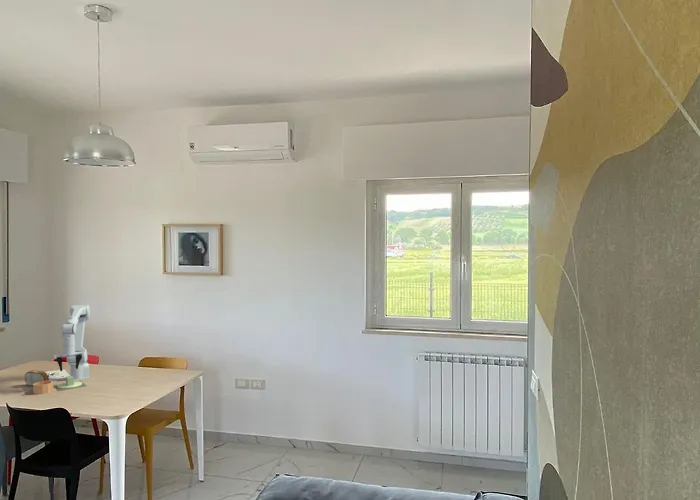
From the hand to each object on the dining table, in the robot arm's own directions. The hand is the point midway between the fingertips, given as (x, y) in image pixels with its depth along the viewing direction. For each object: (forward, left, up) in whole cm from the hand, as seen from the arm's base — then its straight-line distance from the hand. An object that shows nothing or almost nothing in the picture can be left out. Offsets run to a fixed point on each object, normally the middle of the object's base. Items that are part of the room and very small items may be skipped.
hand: (69, 369), depth 268 cm
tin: (+13, -15, -10) cm, 22 cm away
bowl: (+13, +2, -10) cm, 16 cm away
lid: (0, 0, -9) cm, 9 cm away
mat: (0, 0, -10) cm, 10 cm away
